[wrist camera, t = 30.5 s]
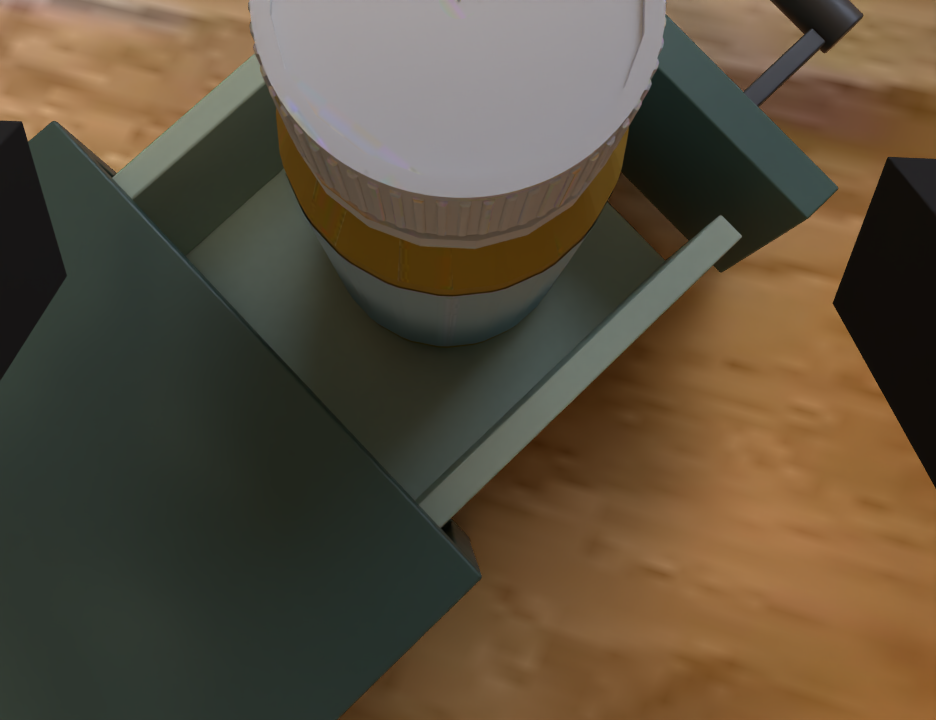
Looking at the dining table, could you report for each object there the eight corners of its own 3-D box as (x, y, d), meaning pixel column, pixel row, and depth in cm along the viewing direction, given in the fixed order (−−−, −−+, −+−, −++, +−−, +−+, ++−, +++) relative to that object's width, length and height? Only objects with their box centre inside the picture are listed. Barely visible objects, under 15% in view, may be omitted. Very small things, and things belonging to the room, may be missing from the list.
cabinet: (167, 216, 30) (53, 118, 21) (470, 538, 29) (483, 577, 20) (-282, 612, 28) (-613, 687, 19) (28, 967, 27) (-169, 1214, 18)
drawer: (578, -139, 30) (619, -312, 23) (858, 140, 30) (984, 47, 23) (66, 314, 28) (-53, 270, 21) (355, 626, 27) (328, 685, 21)
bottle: (325, 144, 28) (195, -209, 13) (543, 122, 28) (663, -246, 13) (348, 362, 27) (238, 255, 12) (571, 337, 27) (730, 203, 13)
